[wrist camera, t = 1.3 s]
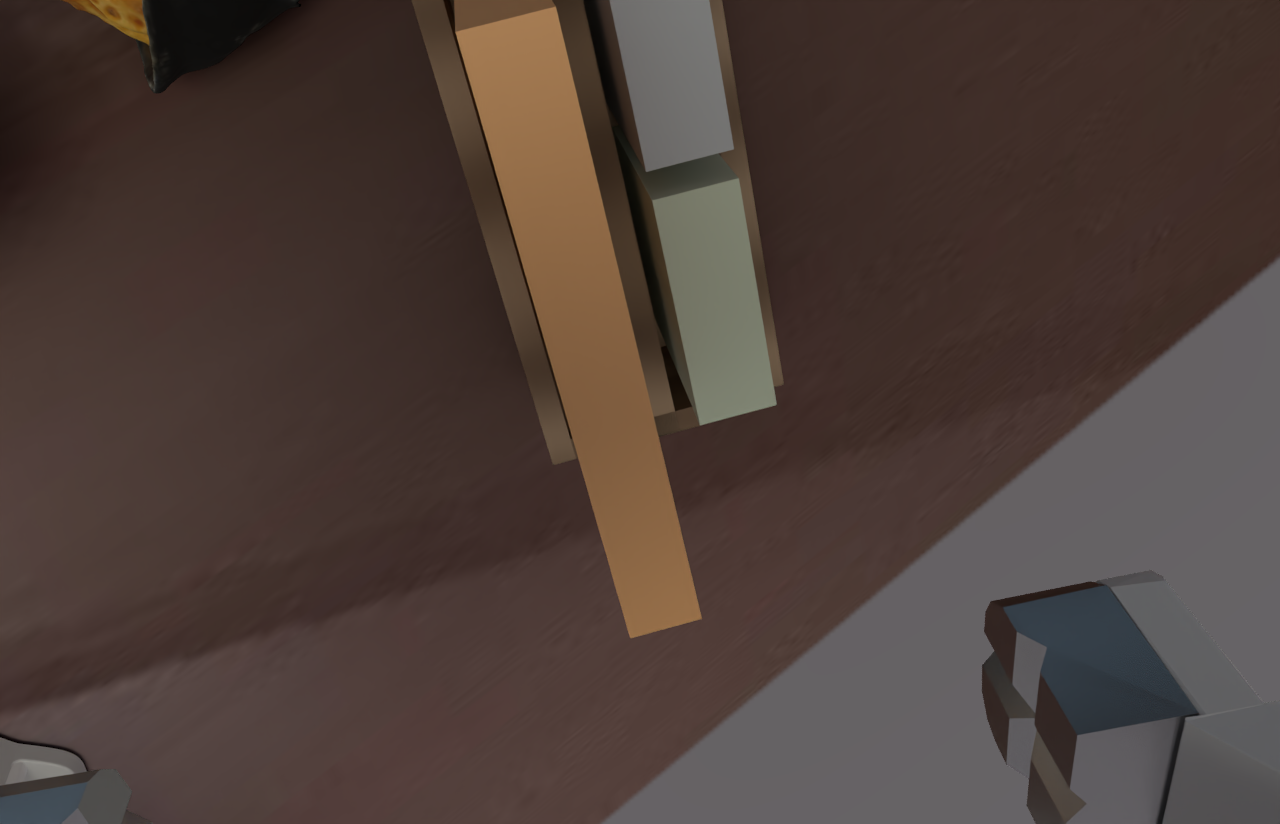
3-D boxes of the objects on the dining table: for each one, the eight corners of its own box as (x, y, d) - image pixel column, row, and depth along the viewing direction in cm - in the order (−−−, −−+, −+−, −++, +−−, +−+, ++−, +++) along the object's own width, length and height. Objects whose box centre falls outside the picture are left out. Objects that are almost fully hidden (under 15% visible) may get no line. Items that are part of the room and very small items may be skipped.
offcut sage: (717, 301, 48) (776, 404, 40) (654, 318, 48) (700, 425, 40) (681, 108, 44) (739, 178, 35) (611, 127, 44) (652, 200, 35)
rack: (749, 327, 51) (793, 400, 44) (539, 383, 51) (552, 465, 44) (649, -244, 39) (690, -259, 32) (372, -176, 38) (357, -177, 32)
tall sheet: (600, 301, 47) (701, 618, 28) (557, 312, 47) (629, 638, 28) (503, -80, 39) (556, 6, 20) (451, -67, 39) (455, 31, 20)
